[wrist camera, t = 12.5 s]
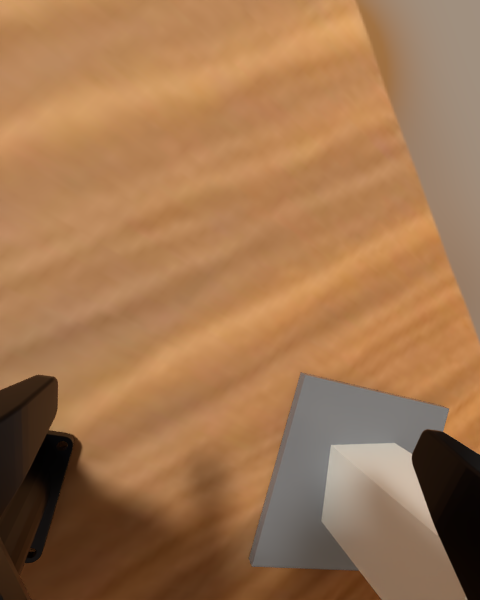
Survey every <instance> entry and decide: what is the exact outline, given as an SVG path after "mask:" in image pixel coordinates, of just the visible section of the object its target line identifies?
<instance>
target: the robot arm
mask: <svg viewBox="0 0 480 600" xmlns="http://www.w3.org/2000/svg"><path fill="white" fill-rule="evenodd" d="M57 405H58V381H57V379H56V378H55V377H52V376H44V375H36V376H33V377H31V378H28V379H26V380H24V381H21V382H19V383H16V384H14V385H12V386H9V387H7V388H5V389H2V390H0V600H31V598H30V596H29V594H28V592H27V590H26V588H25V586H24V584H23V582H22V580H21V578H20V573H21V571H22V568H23V566H24V563H31V562H34V561H36V560H37V559H39V558H40V556H41V554H42V551H43V548H44V545H45V541H46V538H47V535H48V531H49V528H50V524H51V521H52V517H53V514H54V511H55V507H56V504H57V500H58V497H59V494H60V490H61V487H62V483H63V480H64V476H65V473H66V470H67V466H68V463H69V459H70V456H71V452H72V449H73V446H74V438H73V436H72V435H70V434H68V433H63V432H56V431H49V428H50V426H51V424H52V422H53V420H54V418H55V415H56V412H57ZM60 441H65V442H66V443H67V444H68V446H66V447H60V446H59V445H58V443H59V442H60ZM412 464H413V467H414V470H415V473H416V476H417V479H418V482H419V484H420V487H421V490H422V493H423V496H424V499H425V501H426V504H427V507H428V510H429V513H430V516H431V518H432V521H433V524H434V526H435V529H436V531H437V533H438V536H439V538H440V540H441V542H442V545H443V547H444V549H445V551H446V553H447V556H448V558H449V560H450V562H451V564H452V567H453V569H454V571H455V573H456V576H457V578H458V580H459V582H460V584H461V587H462V589H463V591H464V593H465V595H466V598H467V600H480V455H479V454H477V453H476V452H474V451H473V450H471V449H469V448H468V447H466V446H465V445H463V444H462V443H460V442H458V441H457V440H455V439H454V438H452V437H451V436H449V435H447V434H446V433H444V432H442V431H438V430H431V429H426V430H424V431H423V432H422V433H421V435H420V438H419V440H418V442H417V444H416V446H415V448H414V451H413V453H412ZM30 548H34V549H35V550H36V551H35V552H29V550H30Z"/></svg>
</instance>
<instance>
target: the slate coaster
mask: <svg viewBox="0 0 480 600" xmlns="http://www.w3.org/2000/svg"><path fill="white" fill-rule="evenodd" d="M448 411H449V408H446V407H444V406H441V405H437V404H433V403H428V402H424V401H420V400H416V399H412V398H407V397H403V396H399V395H395V394H390V393H386V392H382V391H378V390H373V389H369V388H365V387H361V386H357V385H352V384H348V383H344V382H340V381H335V380H331V379H327V378H323V377H318V376H314V375H310V374H306V373H302V372H301V374H300V378H299V381H298V385H297V388H296V392H295V395H294V399H293V403H292V406H291V410H290V413H289V417H288V420H287V424H286V428H285V431H284V435H283V438H282V442H281V445H280V449H279V453H278V456H277V460H276V463H275V467H274V470H273V474H272V478H271V481H270V485H269V488H268V492H267V495H266V499H265V503H264V506H263V510H262V513H261V517H260V520H259V524H258V528H257V531H256V535H255V538H254V542H253V545H252V549H251V553H250V556H249V561H250V563H251V565H252V567H279V568H305V569H331V570H358V568H357V567H356V566H355V564H354V563H353V562H352V561H351V559H350V558H349V557H348V555H347V554H346V553H345V551H344V550H343V549H342V548H341V546H340V545H339V544H338V542H337V541H336V540H335V538H334V537H333V536H332V535H331V533H330V532H329V531H328V529H327V528H326V527H325V525H324V524H323V523H322V521H321V520H322V512H323V504H324V496H325V488H326V480H327V472H328V464H329V456H330V448H331V445H346V444H378V443H396V444H397V445H399V446H400V447H402V448H403V449H405V450H407V451H408V452H410V453H411V454H412V453H413V451H414V448H415V446H416V444H417V442H418V440H419V438H420V435H421V433H422V432H423V431H424V430H426V429H431V430H438V431H442V432H443V430H444V426H445V422H446V419H447V415H448ZM358 571H359V570H358Z"/></svg>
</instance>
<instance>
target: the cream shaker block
mask: <svg viewBox="0 0 480 600" xmlns="http://www.w3.org/2000/svg"><path fill="white" fill-rule="evenodd" d="M321 521H322V523H323V524H324V525H325V527H326V528H327V529H328V531H329V532H330V533H331V535H332V536H333V537H334V538H335V540H336V541H337V542H338V544H339V545H340V546H341V548H342V549H343V550H344V551H345V553H346V554H347V555H348V557H349V558H350V559H351V561H352V562H353V563H354V564H355V566H356V567H357V568H358V570H359V571H360V572H361V574H362V575H363V576H364V578H365V579H366V580H367V581H368V583H369V584H370V585H371V587H372V588H373V589H374V591H375V592H376V593H377V594H378V596H379V597H380V598H381V600H467V598H466V595H465V593H464V591H463V589H462V587H461V584H460V582H459V580H458V578H457V576H456V573H455V571H454V569H453V567H452V564H451V562H450V560H449V558H448V556H447V553H446V551H445V549H444V547H443V545H442V542H441V540H440V538H439V536H438V533H437V531H436V529H435V526H434V524H433V521H432V518H431V516H430V513H429V510H428V507H427V504H426V501H425V499H424V496H423V493H422V490H421V487H420V484H419V482H418V479H417V476H416V473H415V470H414V467H413V464H412V454H411V453H410V452H408V451H407V450H405V449H403V448H402V447H400V446H399V445H397V444H396V443H378V444H346V445H331V448H330V456H329V464H328V472H327V480H326V488H325V496H324V504H323V512H322V520H321Z"/></svg>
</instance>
